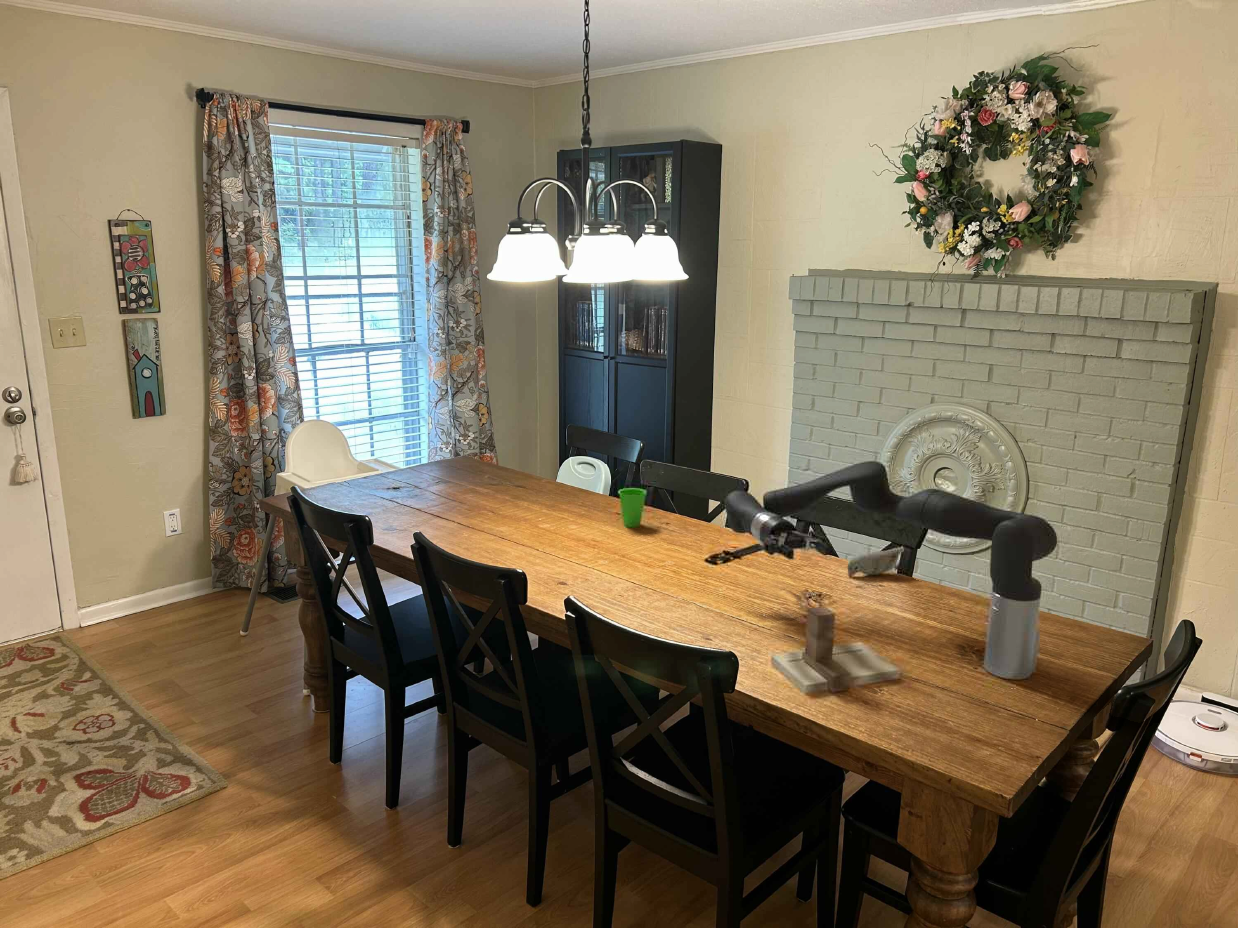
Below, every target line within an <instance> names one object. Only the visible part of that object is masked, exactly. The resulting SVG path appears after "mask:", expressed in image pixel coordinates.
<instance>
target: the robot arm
mask: <svg viewBox="0 0 1238 928" xmlns="http://www.w3.org/2000/svg"><path fill="white" fill-rule="evenodd" d="M889 482H890V481H889V478H888V472H887V468H886V466H885V465H884V464H883V463H881V462H879V461H876V460H875V461H874V460H871V461H870V460H867V461H862V462H857V463H855V464H852V465H848V466H846V467H844V468H841V469H839V470H836V471H834V472H833V471H832V472H830V473H828V474H825V475H822V476H820V477H817V478H814V479H812V480H810V481H806V482H804V483H799V484H797V485H792V486H789V487H783V488H779V489H774V490H770V491H769V490H768V491H766V492H765V493H764V494H763V497H762V504H761V503H760V502H759V501H758V500H757V498H756V497H754V495H752V494H751V493H749V492H747V491H744V490H736V491H735V490H734V491H732V492H730V493H729V494H727V496H726V497H725V498H724V508H725V513H726V515H727V516H726V517H727V519H728V523H729V526H730V528H731V531H733V532H734V533H737V534H749V535H750V536H752V538H755V539H756V541H758V542H759V544H760V546H759V547H760V548H761V549H760V550H762V551H764V552H765V553H767V555H770V556H773V555H775V554H777V555H778V556H783V557H784V558H787V559H788V560H794V555H795V550H800V551H806V552H809V551H810V550H812V551H816V552H818V553H819V554H821V555H822V556H829V552H830V546H829V545H827V540H828V538H827V537H825V535H824V536H823V535H822V534H820V533H817V532H816V531H814V530H809V531H808V533H807V534H806V533H801V532H800V531H798V530H797V528H796V526H795V525H794V524H793V523H792V522H791V521H789V520H787V519H785V518H788V517H792V516H797V515H800V514H803V513H805V512H807V511H809V510H810V509H812V507H814V506H815V505H816V504H818V503H819V502H820V501H821V500H822V499H823V498H825V497H826V496H827V495H829V494H830V493H832V492H833V491H836V490H839V489H841V488H845V487H849V491H850V497H851V500H852V502H853V505H854V506H855V507H856V508H857V509H860V510H862V511H865V512H868V513H872V514H876V515H880V516H885V517H889V518H893V519H898V520H900V521H904V522H907V523H910V524H913V525H916V526H920V527H922V528H924V529H927V530H929V531H932V532H935V533H939V534H942V535H945V536H948V537H955V538H963V539H971V540H972V539H973V540H974V539H976V540H983V541H989V542H991V548H990V561H989V562H990V563H989V564H990V565H989V574H990V575H989V576H990V580H991V583H992V589H991V597H990V604H989V605H990V606H989V614H988V616H989V617H988V621H987V622H988V624H987V632H986V640H985V641H986V642H985V650H984V657H983V658H984V660H983V668H984V669H985V671H987V672H988V673H990V674H991V675H993V676H995V677H999V678H1003V679H1007V680H1025V679H1028V678H1029V677H1030V676H1031V675H1032V674H1036V673H1035V672H1036V665H1037V658H1038V651H1039V644H1040V643H1039V642H1040V636H1041V635H1040V633H1041V631H1040V630H1039V628H1038V619H1039V614H1040V613H1039V612H1040V605H1041V604H1040V603H1041V597H1042V588H1043V587H1042V583H1041V582H1040V580H1038V579H1036V578H1035V577H1032V575H1033V562H1035V561H1040V560H1041V559H1043V558H1046V557H1048V556H1050V554H1052V553H1053V552H1054V551H1055V549H1056V547H1057V546H1058V536H1057V533H1056V531H1055V529H1054V528H1053V526H1052V525H1051V524H1050V523H1049V522H1048V521H1047V520H1046V519H1045V518H1042V517H1039V516H1036V515H1032V514H1026V513H1022V512H1018V511H1017V512H1015V511H1010V510H1006V509H1002V508H999V507H998V508H997V507H994V506H991V505H988V504H985V503H982V502H979V501H977V500H973V499H970V498H966V497H964V496H960V495H957V494H955V493H952V492H949V491H945V490H941V489H937V488H926V489H923V490H921V491H918V492H916V493H913V494H912V495H909V496H904V495H899V494H896V493H894V492H893V491H892V490H891V487H890V483H889ZM805 542H806V543H805ZM804 545H806V546H804Z"/></svg>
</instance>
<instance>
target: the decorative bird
mask: <svg viewBox="0 0 1238 928" xmlns="http://www.w3.org/2000/svg"><path fill="white" fill-rule="evenodd" d="M904 551H905V549H904V547H903V546H901V547H894V548H891V549H888V550H883V551H882V550H881V551H874V552H870V553H867V554H858V555H855V556H854V557H852V558H851V559H850V561H849V562H848V564H847V575H848V577H849V578H851V577H852V576H854V575H856V574H857V573H862V574H863V575H866V576H870V575H871V576H873V575H874V576H876V575H877V576H878V575H879V574H883V573H886V572H890V571H891V570H892V569H893V570H894V571H897V572H898V574H899V575H900V576H901V574H902V575H904V571H905V570H904V568H905V566H903V567H902V569H901V568H899V564H900V561H899V562H898V560H899V554H902V553H903V552H904ZM898 570H899V571H898Z"/></svg>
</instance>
